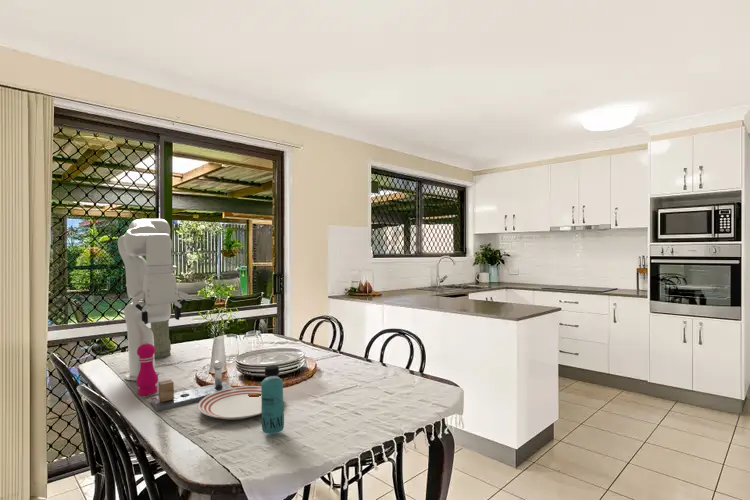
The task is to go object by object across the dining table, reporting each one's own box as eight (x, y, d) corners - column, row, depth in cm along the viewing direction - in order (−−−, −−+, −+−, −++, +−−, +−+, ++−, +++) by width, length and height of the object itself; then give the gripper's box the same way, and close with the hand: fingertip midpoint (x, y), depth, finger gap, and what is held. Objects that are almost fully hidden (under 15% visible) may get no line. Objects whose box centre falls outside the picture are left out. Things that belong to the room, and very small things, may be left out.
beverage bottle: (263, 429, 128) (261, 363, 128) (286, 428, 129) (284, 362, 128) (259, 440, 122) (257, 370, 121) (283, 438, 123) (281, 369, 122)
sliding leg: (159, 398, 150) (158, 381, 150) (171, 395, 153) (170, 379, 153) (161, 401, 147) (160, 384, 147) (174, 399, 150) (173, 382, 150)
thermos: (177, 353, 216) (174, 284, 214) (157, 359, 205) (154, 286, 204) (164, 351, 219) (161, 283, 218) (144, 358, 208) (141, 286, 207)
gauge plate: (151, 402, 152) (149, 370, 151) (225, 385, 168) (224, 356, 167) (157, 411, 144) (155, 377, 143) (234, 392, 160) (233, 361, 159)
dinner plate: (283, 390, 162) (283, 381, 161) (283, 421, 135) (283, 410, 135) (205, 397, 156) (205, 388, 156) (190, 431, 129) (189, 420, 129)
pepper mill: (149, 396, 158) (147, 342, 157) (132, 395, 159) (130, 342, 158) (162, 389, 165) (160, 337, 164) (146, 388, 166) (144, 337, 165)
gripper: (184, 268, 152) (186, 316, 153) (128, 271, 141) (130, 323, 142) (189, 269, 146) (192, 319, 147) (132, 273, 136) (134, 326, 136)
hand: (161, 321), depth 144 cm, fingers open, 9 cm apart
